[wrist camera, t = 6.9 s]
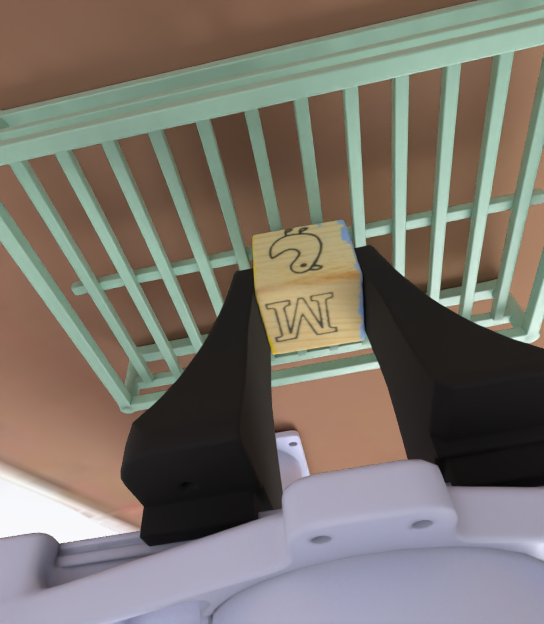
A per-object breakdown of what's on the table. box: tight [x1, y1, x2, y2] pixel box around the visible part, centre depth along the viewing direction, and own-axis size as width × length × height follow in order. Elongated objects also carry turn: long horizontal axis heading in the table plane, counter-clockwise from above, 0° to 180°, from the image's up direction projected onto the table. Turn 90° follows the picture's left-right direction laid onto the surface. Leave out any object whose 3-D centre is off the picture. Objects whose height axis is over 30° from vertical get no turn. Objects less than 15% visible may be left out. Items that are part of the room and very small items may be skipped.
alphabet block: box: [252, 220, 365, 354], centre depth 14 cm, size 3×3×3 cm
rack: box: [0, 0, 544, 414], centre depth 16 cm, size 18×12×4 cm, turn 101°
